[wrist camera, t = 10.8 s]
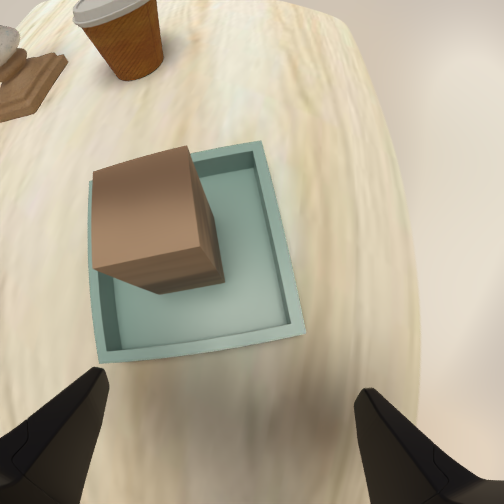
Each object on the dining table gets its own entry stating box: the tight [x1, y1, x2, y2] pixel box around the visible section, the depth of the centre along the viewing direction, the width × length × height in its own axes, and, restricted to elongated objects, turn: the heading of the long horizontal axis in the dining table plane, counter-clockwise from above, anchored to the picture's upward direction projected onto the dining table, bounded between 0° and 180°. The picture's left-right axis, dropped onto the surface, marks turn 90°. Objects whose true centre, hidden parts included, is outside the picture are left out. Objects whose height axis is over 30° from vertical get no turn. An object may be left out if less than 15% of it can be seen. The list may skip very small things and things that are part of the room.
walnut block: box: [91, 146, 225, 295], centre depth 17 cm, size 5×5×10 cm
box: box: [88, 141, 306, 364], centre depth 21 cm, size 14×14×4 cm
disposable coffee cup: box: [73, 0, 163, 81], centre depth 23 cm, size 10×10×12 cm
